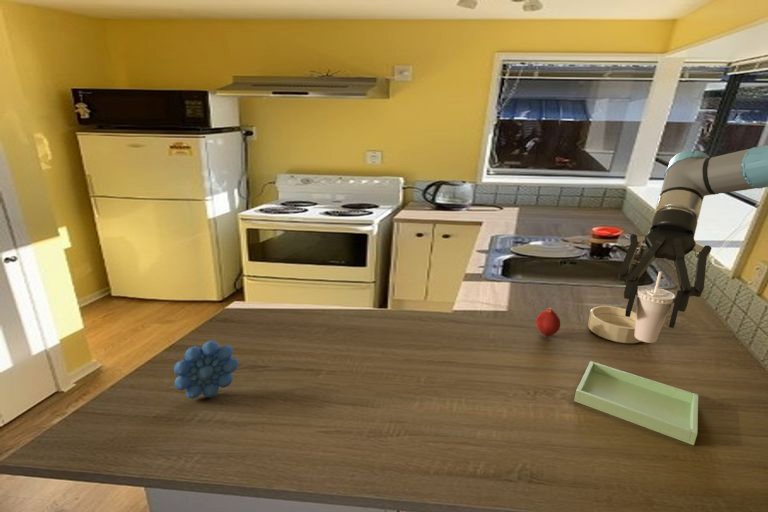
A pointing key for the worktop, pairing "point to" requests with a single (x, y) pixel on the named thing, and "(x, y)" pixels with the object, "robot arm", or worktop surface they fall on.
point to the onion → (548, 322)
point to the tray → (640, 401)
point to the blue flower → (205, 369)
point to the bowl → (613, 324)
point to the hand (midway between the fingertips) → (649, 319)
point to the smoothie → (651, 311)
